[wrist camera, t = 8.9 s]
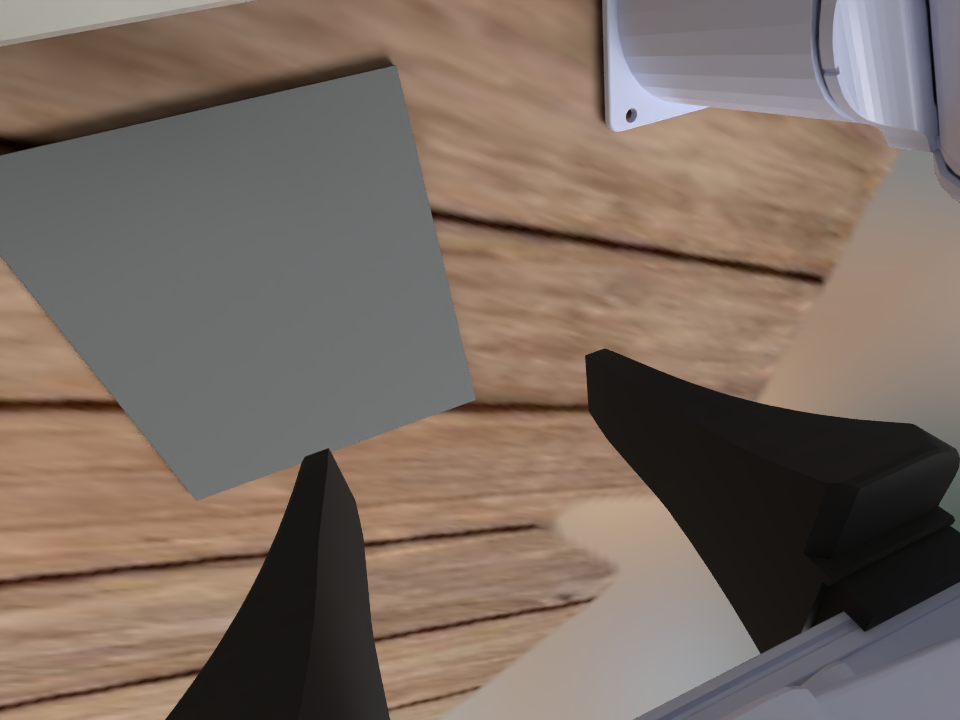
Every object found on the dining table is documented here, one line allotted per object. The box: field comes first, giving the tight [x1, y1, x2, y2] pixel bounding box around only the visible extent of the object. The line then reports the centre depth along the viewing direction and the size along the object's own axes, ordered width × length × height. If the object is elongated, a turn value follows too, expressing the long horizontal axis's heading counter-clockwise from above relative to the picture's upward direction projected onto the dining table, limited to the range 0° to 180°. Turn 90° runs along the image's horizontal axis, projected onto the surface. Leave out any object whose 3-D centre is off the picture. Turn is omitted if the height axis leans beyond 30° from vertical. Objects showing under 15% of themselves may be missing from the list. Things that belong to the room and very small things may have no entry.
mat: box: [0, 65, 476, 501], centre depth 20 cm, size 14×15×1 cm
